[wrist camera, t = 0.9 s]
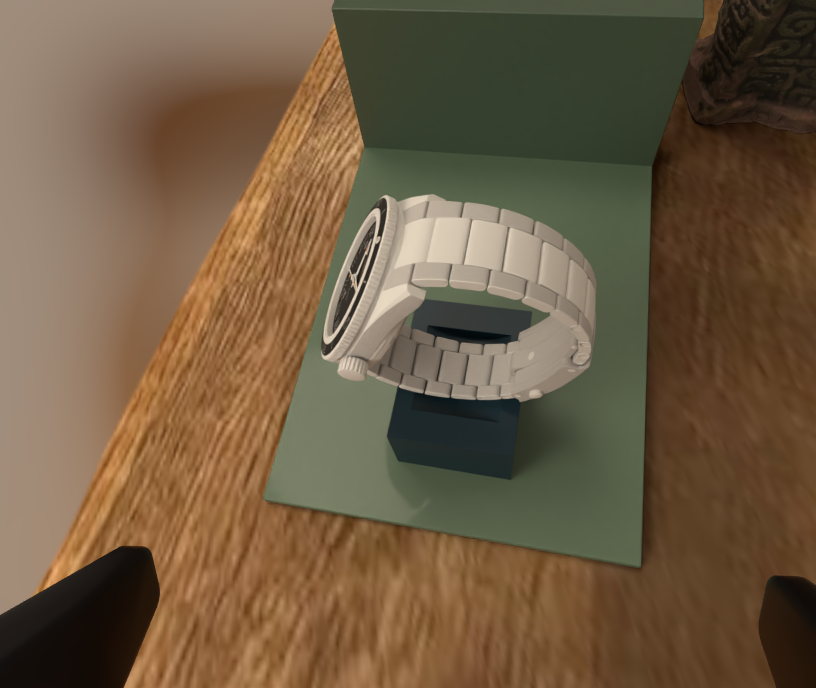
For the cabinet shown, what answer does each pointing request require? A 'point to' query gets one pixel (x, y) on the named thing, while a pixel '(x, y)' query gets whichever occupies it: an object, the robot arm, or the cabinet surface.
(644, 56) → the green display stand
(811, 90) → the statue
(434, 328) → the watch
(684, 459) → the cabinet surface
